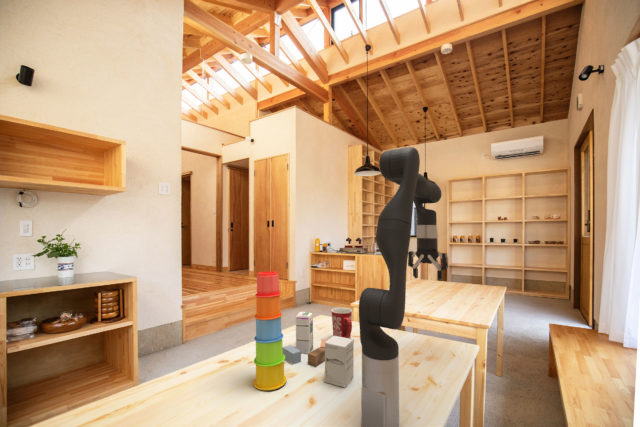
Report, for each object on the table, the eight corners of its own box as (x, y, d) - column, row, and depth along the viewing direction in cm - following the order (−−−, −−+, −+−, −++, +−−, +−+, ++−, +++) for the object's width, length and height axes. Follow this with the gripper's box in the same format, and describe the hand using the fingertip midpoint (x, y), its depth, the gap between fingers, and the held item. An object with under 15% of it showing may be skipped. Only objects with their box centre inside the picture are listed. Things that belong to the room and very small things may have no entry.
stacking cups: (254, 394, 86) (255, 275, 88) (252, 376, 96) (254, 270, 97) (289, 389, 89) (289, 274, 90) (284, 372, 99) (284, 269, 100)
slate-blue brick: (300, 362, 107) (300, 351, 107) (293, 365, 105) (293, 353, 105) (290, 355, 112) (290, 345, 112) (282, 358, 110) (282, 347, 110)
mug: (328, 339, 128) (328, 308, 128) (347, 336, 131) (347, 306, 131) (339, 351, 116) (339, 316, 116) (359, 348, 119) (359, 314, 119)
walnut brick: (315, 367, 103) (315, 356, 103) (307, 365, 105) (307, 353, 105) (326, 360, 108) (326, 349, 108) (319, 357, 110) (319, 347, 110)
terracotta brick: (329, 357, 110) (329, 346, 111) (320, 357, 111) (320, 346, 111) (330, 349, 117) (330, 339, 118) (321, 349, 118) (321, 339, 118)
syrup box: (310, 354, 113) (310, 316, 113) (295, 353, 114) (295, 315, 115) (313, 348, 118) (313, 312, 119) (299, 347, 120) (299, 311, 120)
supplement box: (323, 382, 92) (323, 342, 93) (333, 372, 99) (333, 334, 100) (345, 389, 89) (345, 346, 90) (354, 377, 96) (354, 338, 96)
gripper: (405, 236, 114) (405, 278, 113) (444, 237, 106) (445, 283, 105) (411, 236, 120) (412, 276, 119) (448, 237, 112) (449, 279, 111)
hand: (427, 279), depth 112 cm, fingers open, 8 cm apart
